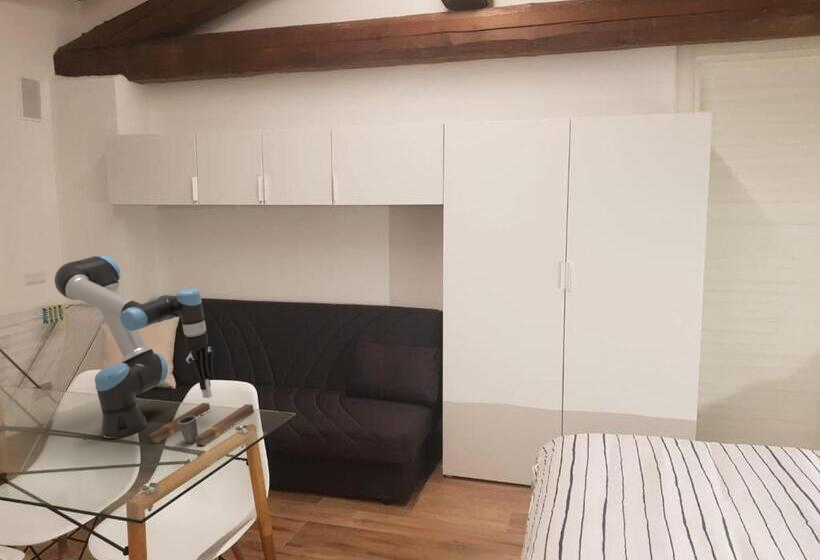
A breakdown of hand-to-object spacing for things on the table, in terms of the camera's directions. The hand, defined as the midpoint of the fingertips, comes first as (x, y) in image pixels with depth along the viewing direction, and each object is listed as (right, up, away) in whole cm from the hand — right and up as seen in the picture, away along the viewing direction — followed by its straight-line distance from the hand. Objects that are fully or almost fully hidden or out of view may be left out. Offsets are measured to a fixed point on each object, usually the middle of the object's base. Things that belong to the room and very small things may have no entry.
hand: (207, 396), depth 236 cm
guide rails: (0, -10, -3) cm, 11 cm away
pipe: (-2, -12, -12) cm, 17 cm away
